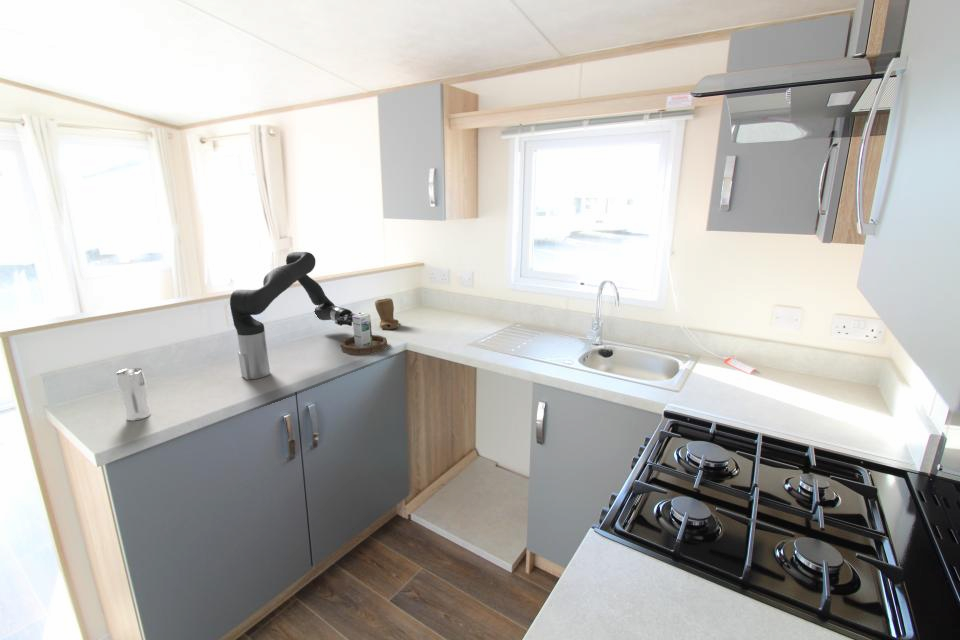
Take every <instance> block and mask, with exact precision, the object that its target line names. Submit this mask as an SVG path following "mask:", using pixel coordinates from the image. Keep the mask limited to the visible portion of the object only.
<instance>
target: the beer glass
mask: <svg viewBox="0 0 960 640" xmlns="http://www.w3.org/2000/svg"><path fill="white" fill-rule="evenodd" d="M115 377H116V384H117V389H118V394H119V395H120V397H121V400H122V401H123V404H124V407H125V410H126V411H125V412H126V420H127V421H129V420H130V421H129V422H135V420H137V421H139V420H144V419H146V417H147V418H149V417H150V416H151V414H152V412H151V410H150V408H149V406H148V400H147V397H148V395H147V394H148V393H147V392H148V387H147V380H146V377H145V374H144V369H143V368H141V367H131V368H130V367H129V368H125V369H122V370H119V371H117V372H116V373H115Z"/></svg>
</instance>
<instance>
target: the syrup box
mask: <svg viewBox="0 0 960 640" xmlns="http://www.w3.org/2000/svg"><path fill="white" fill-rule="evenodd" d="M361 313H362V314H359V313H358V314H357V313H356V314H357V315H353V316H352V318H353V322H352V326H353V337H354V339H355V346H357V347H367V346H371V345H373V343H372V335H373V333H372V320H371V319H372V318H371V314H369V313H364V312H361Z"/></svg>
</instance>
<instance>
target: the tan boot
mask: <svg viewBox="0 0 960 640" xmlns="http://www.w3.org/2000/svg"><path fill="white" fill-rule="evenodd" d="M374 306H375V309H376V312H377V314H378V316H379V318H380V323H379V327H380V328H381V329H384V330H394V329H396V328H398V327H399V319H395V317H394V311H395V306H394V302H393V299H392V298H390V297H389V298H388V297H386V298H382V299H377V300H375V301H374Z"/></svg>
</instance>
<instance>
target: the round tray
mask: <svg viewBox="0 0 960 640" xmlns="http://www.w3.org/2000/svg"><path fill="white" fill-rule="evenodd" d="M372 343H373V345H371V346H367V347H357V346H355V339H354V336H351V337H347V338H345V339H344V340H341V343H340V346H341V347H340V348H341V352H342V351H343V352H342V353H344V352H345V353H344V354H347V355H352V354H354V356H363V354H366V355H372V354H371V353H374V354H376V353H375V352H377V353H380V352H379V351H381V352H383V351H385V350H386V349H387V348H388V340H387V337H385V336H382V335H378V334H372ZM386 347H387V348H386ZM385 348H386V349H385Z"/></svg>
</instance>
